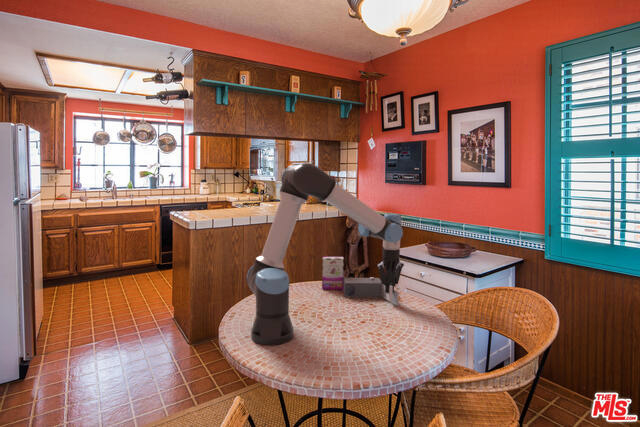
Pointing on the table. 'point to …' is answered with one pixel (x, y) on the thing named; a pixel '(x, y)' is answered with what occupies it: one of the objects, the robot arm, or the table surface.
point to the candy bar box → (332, 273)
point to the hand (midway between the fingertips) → (389, 299)
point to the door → (394, 296)
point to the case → (362, 287)
